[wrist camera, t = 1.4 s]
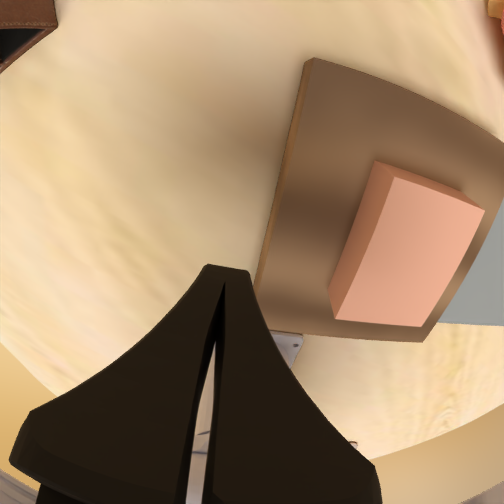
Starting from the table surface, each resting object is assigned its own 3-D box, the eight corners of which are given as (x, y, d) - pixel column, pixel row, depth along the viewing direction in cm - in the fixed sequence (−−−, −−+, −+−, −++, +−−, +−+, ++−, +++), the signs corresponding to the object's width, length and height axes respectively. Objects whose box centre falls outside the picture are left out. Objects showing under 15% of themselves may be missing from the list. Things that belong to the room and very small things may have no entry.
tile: (407, 300, 18) (421, 326, 16) (327, 289, 17) (334, 319, 15) (460, 191, 14) (485, 210, 11) (374, 160, 13) (394, 176, 11)
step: (410, 317, 23) (422, 342, 20) (250, 296, 22) (249, 326, 19) (492, 140, 14) (518, 153, 12) (304, 62, 13) (314, 57, 11)
